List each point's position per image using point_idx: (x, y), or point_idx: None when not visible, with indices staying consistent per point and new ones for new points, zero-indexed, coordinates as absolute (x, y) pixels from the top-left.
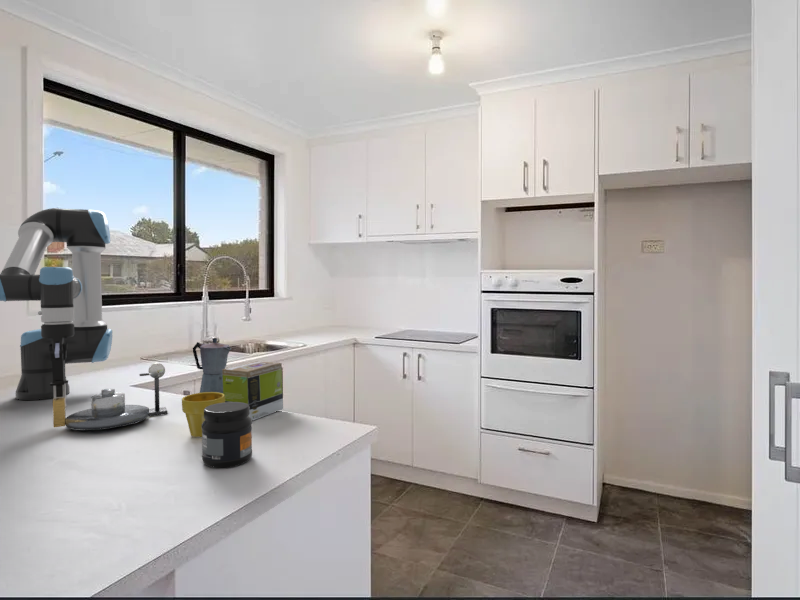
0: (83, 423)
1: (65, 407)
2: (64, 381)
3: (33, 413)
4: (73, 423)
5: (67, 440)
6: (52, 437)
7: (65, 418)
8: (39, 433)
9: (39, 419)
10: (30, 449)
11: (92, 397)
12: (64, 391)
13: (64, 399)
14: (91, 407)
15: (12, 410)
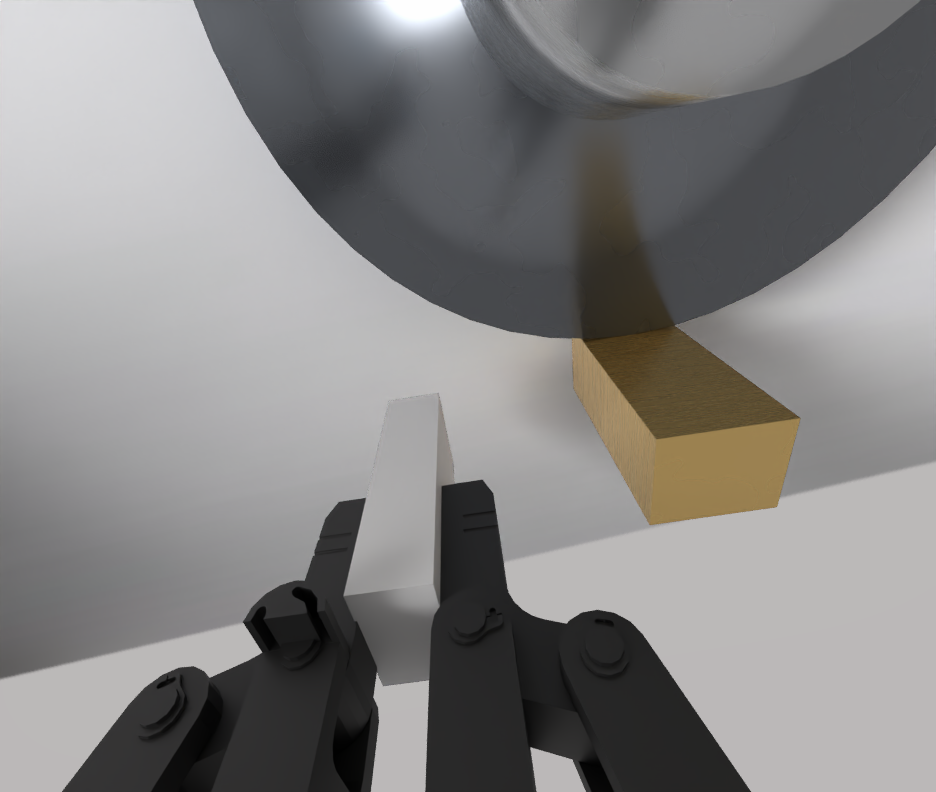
0: (909, 143)
1: (437, 397)
2: (622, 641)
3: (113, 562)
4: (837, 237)
5: (908, 234)
6: (756, 341)
7: (598, 338)
8: None
9: (270, 503)
10: (930, 391)
11: (770, 65)
12: (439, 509)
13: (774, 421)
14: (660, 110)
15: (40, 651)
